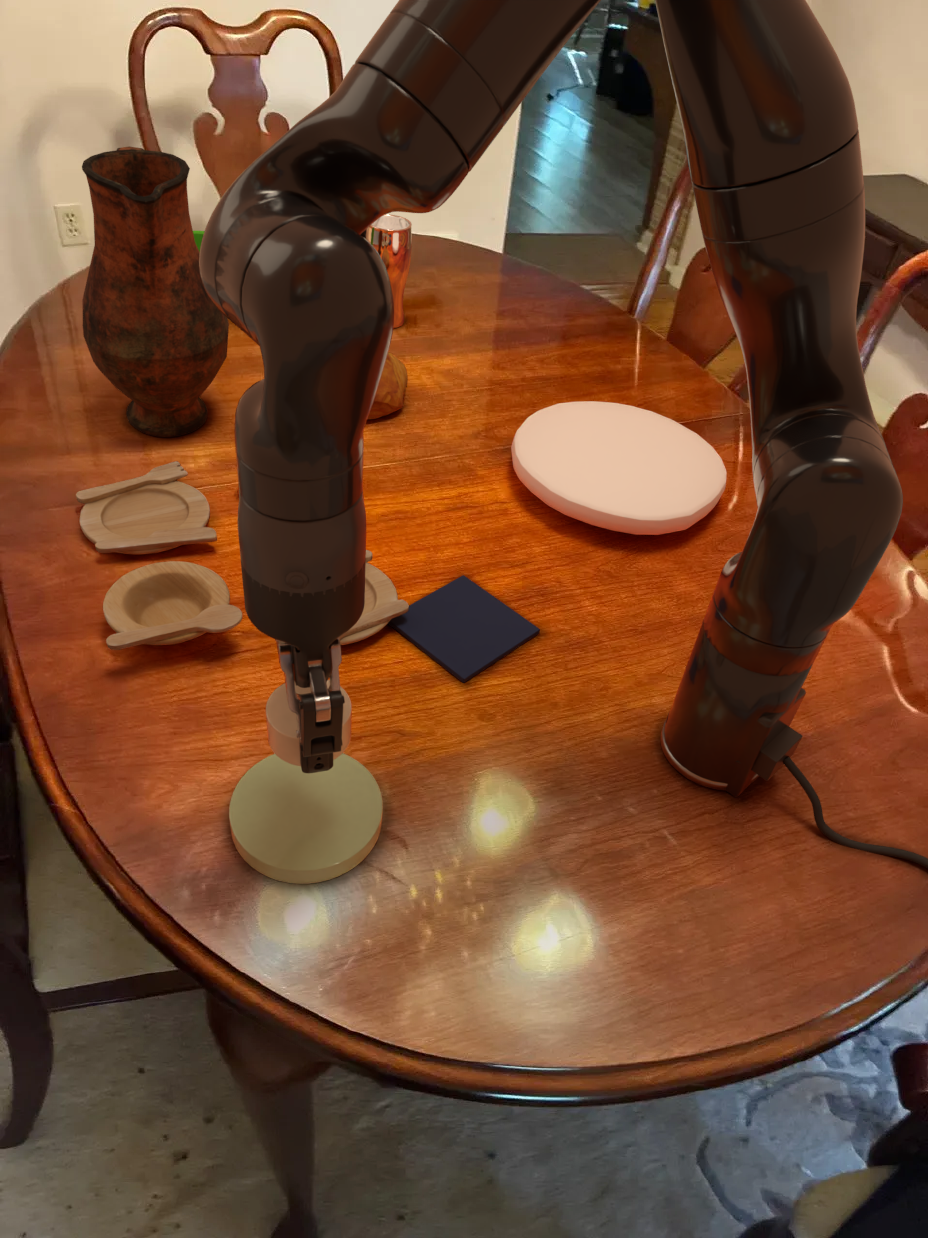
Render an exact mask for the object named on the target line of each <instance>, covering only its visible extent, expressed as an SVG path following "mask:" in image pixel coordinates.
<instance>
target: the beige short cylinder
mask: <svg viewBox="0 0 928 1238" xmlns="http://www.w3.org/2000/svg"><path fill="white" fill-rule="evenodd" d="M294 683H295V681H294ZM326 683H327V688H329V686H330V679H328V680H327V682H326ZM340 690H341V693H342V695H344V700H345V703H344V704H343V723H342V743H343V745H342V746H341V751H340V752H333V760H335V759H336V758H338V757H339V756H340V755H341V754H342V753H344V752H346V750H347V749H348V747H349V746H350V743H351V739H352V721H353V720H352V715H353V714H352V713H353V710H352V709H353V707H352V706H353V705H352V701H351V698H350V696H349V694H348V693H347V691H346V689H344V688H343V687H342V686H341V685H340ZM295 692H296V693H297V694H307V693H311V690H310V687H308V688H301V687H299V686H298V685H297V686H296V684H295ZM265 720H266V721H265V723H266V734H267V742H268V745H269V747H270V749H271V751H272V752H273V754H276V756H278V757H279V758H280V759H282V760H283V761H285V762H287V763H289V764H292V765H296V766H301V764H300V747H299V738H297V736H296V730H298V729H297V718H296V713H294V712H292V711H291V710H290V709H289V706H288V702H287V695H286V686H285V682H284V683H282V684H280V685H279V686H278V687H277V688H275V689H274V690H273V692H271V694H270V695H269V697H268V699H267V701H266V704H265Z"/></svg>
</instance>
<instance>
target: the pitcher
mask: <svg viewBox="0 0 928 1238" xmlns="http://www.w3.org/2000/svg"><path fill="white" fill-rule="evenodd" d="M190 169H191V168H190V167H189V165H188V163H187V161H186V160H184V159H183V158H182V157H181V158H180V157H179V156H177V155H174V154H172V153H168V152H164V151H158V150H148V149H144V148H142V147H135V146H122V147H117V148H116V150H110V151H104V152H103V151H102V152H100V153H97V154H94V155H90V156H89V157H87V158H86V159H85V160H83V162H82V165H81V170H82V172H83V174H85V177H86V180H87V184H88V188H89V195H90V196H89V197H90V201H91V205H92V206H91V207H92V213H93V234H94V235H93V236H94V238H93V239H94V246H93V250H92V255H91V256H92V257H91V259H90V264H89V269H88V273H87V276H86V282H85V286H84V291H83V296H82V301H81V302H82V304H81V305H82V335H83V338H84V339H83V340H84V341H85V344H86V347H87V349H88V351H89V354H90V357H91V360H92V362H93V364H94V366H96V367H97V369H98V370H99V372H101V373H102V375H103V376H104V377H105V378H106V379H107V380H108V381H109V382H110V383H111V385H113V387H115V389H117V390H118V391H119V392H121V393H122V394H123V395H124V396H125V397H127V398H128V399H129V400H131V401H130V403H129V404H128V405H127V407H126V411H125V412H126V413H125V415H126V418H127V421H128V423H129V424H130V425H131V426H132V427H133V428H134V429H136V430H137V431H139V432H141V433H142V434H145V435H148V436H150V437H158V438H172V437H173V438H174V437H180V436H184V435H188V434H190V433H193V432H195V431H197V430H198V429H199V428H201V427H202V426H203V425H205V423H206V422H207V420H208V415H209V410H208V407H207V405H206V403H205V401H204V400H203V399H202V398H201V396H202V395H203V393H204V392H205V391H206V390H207V389H208V387H209V386H210V385H211V384H212V383H213V381H214V379H215V378H216V376H218V373H219V371H220V369H221V368H222V366H223V364H224V363H225V361H226V359H227V357H228V348H229V347H228V345H229V331H230V330H229V328H230V323H229V319H228V318H227V317H226V316H225V315H224V314H222V313H221V312H220V311H219V310H218V309H217V307H216V306H215V305H214V304H213V302H212V301H211V299H210V298H209V296H208V294H207V293H206V291H205V288H204V286H203V283H202V280H201V276H200V269H199V254H200V252H199V250H198V247H197V245H196V243H195V239H194V234H193V231H194V230H193V225H192V220H191V215H190V208H189V196H188V177H189V173H190Z"/></svg>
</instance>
